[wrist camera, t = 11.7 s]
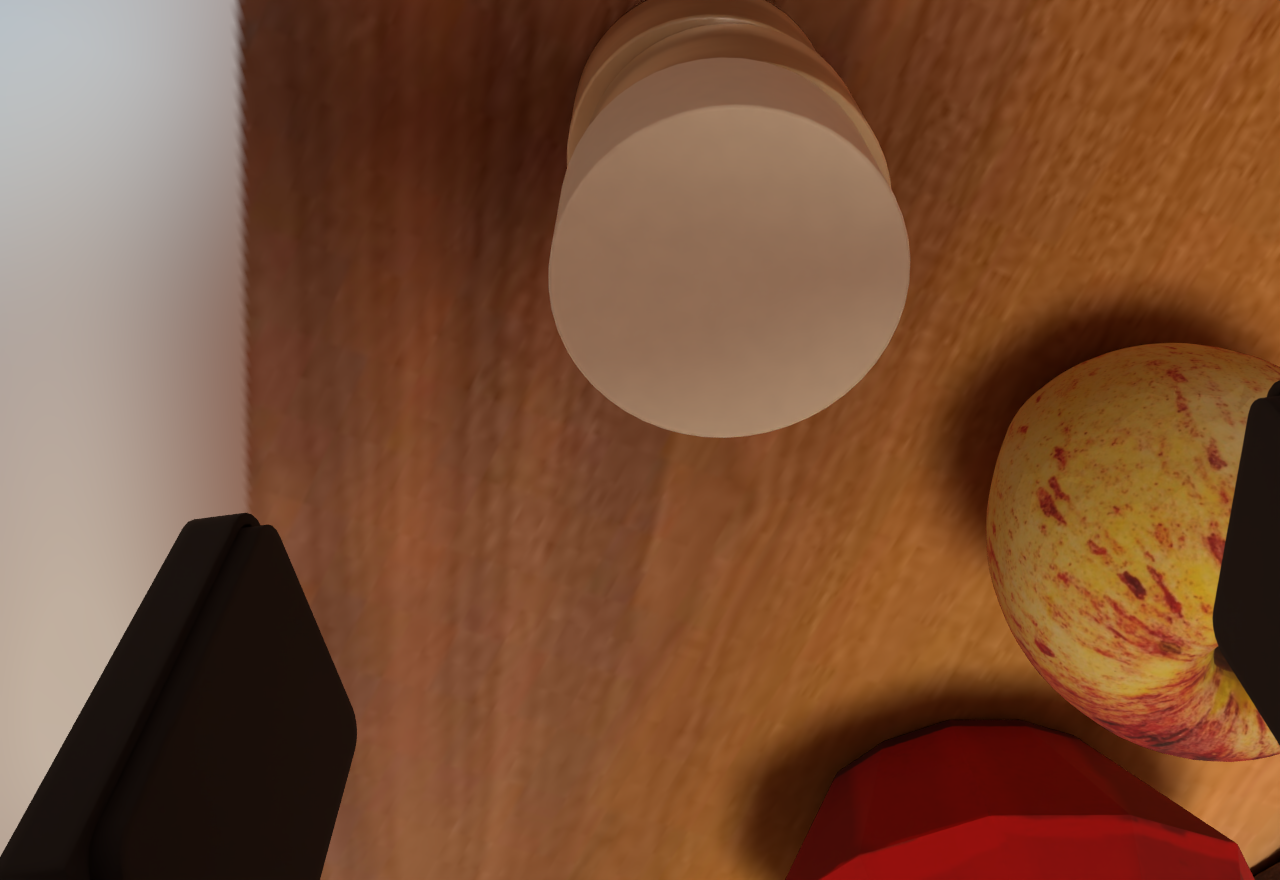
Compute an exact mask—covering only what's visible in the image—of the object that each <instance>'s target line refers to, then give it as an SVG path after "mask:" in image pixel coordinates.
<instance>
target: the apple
mask: <svg viewBox="0 0 1280 880" xmlns="http://www.w3.org/2000/svg"><path fill="white" fill-rule="evenodd" d="M1279 380H1280V367H1278V366H1276V365H1274V364H1271V363H1269V362H1267V361H1265V360H1262V359H1260V358H1257V357H1254V356H1250V355H1247V354H1243V353H1240V352H1236V351H1232V350H1228V349H1224V348H1218V347H1212V346H1205V345H1197V344H1189V343H1157V344H1147V345H1140V346H1134V347H1128V348H1124V349H1120V350H1116V351H1112V352H1109V353H1106V354H1103V355H1101V356H1098V357H1095V358H1092V359H1090V360H1087V361H1085V362H1082V363H1080V364H1078V365H1076V366H1074V367H1072V368H1070V369H1068V370H1067V371H1065V372H1063V373H1061V374H1060V375H1058V376H1057V377H1055V378H1054V379H1053V380H1051V381H1050V382H1049V383H1047V384H1046V385H1045V386H1043V387H1042V388H1041V389H1040V390H1038V391H1037V392H1036V393H1035V394H1033V395H1032V396H1031V397H1030V398H1029V399H1028V400H1027V401H1026V402H1025V403H1024V404H1023V405H1022V407H1021V408H1020V409H1019V410H1018V412H1017V413H1016V415H1015V417H1014V418H1013V420H1012V422H1011V424H1010V426H1009V428H1008V430H1007V433H1006V436H1005V438H1004V441H1003V443H1002V446H1001V449H1000V452H999V456H998V459H997V462H996V466H995V470H994V474H993V478H992V483H991V488H990V493H989V499H988V506H987V517H986V539H987V555H988V563H989V570H990V574H991V578H992V582H993V586H994V589H995V592H996V595H997V598H998V601H999V603H1000V606H1001V609H1002V611H1003V614H1004V616H1005V618H1006V621H1007V623H1008V625H1009V627H1010V629H1011V632H1012V633H1013V635H1014V637H1015V639H1016V641H1017V642H1018V644H1019V646H1020V647H1021V649H1022V650H1023V652H1024V653H1025V655H1026V656H1027V658H1028V659H1029V661H1030V662H1031V663H1032V665H1033V666H1034V667H1035V669H1036V670H1037V671H1038V672H1039V673H1040V675H1041V676H1042V677H1043V678H1044V679H1045V680H1046V681H1047V682H1048V683H1049V684H1050V685H1051V686H1052V688H1053V689H1055V690H1056V691H1057V692H1058V693H1059V694H1060V695H1061V696H1062V697H1063V698H1064V699H1066V700H1067V701H1068V702H1069V703H1070V704H1072V705H1073V706H1074V707H1075V708H1077V709H1078V710H1079V711H1080V712H1082V713H1083V714H1085V715H1086V716H1088V717H1089V718H1090V719H1092V720H1093V721H1095V722H1096V723H1098V724H1099V725H1101V726H1102V727H1104V728H1105V729H1107V730H1108V731H1110V732H1112V733H1114V734H1115V735H1117V736H1119V737H1121V738H1123V739H1126V740H1128V741H1130V742H1133V743H1135V744H1137V745H1139V746H1142V747H1145V748H1148V749H1151V750H1154V751H1158V752H1161V753H1164V754H1169V755H1173V756H1178V757H1183V758H1188V759H1192V760H1204V761H1224V762H1234V761H1246V760H1254V759H1260V758H1266V757H1270V756H1273V755H1277V754H1280V745H1279V744H1278V742H1277V740H1276V739H1275V737H1274V736H1273V734H1272V732H1271V731H1270V729H1269V728H1268V726H1267V724H1266V723H1265V721H1264V720H1263V718H1262V717H1261V715H1260V713H1259V712H1258V710H1257V709H1256V707H1255V705H1254V704H1253V702H1252V701H1251V699H1250V697H1249V696H1248V694H1247V693H1246V691H1245V689H1244V688H1243V686H1242V685H1241V683H1240V681H1239V680H1238V678H1237V677H1236V675H1235V673H1234V672H1233V670H1232V669H1231V667H1230V666H1229V664H1228V662H1227V661H1226V659H1225V658H1224V656H1223V654H1222V653H1221V651H1220V649H1219V647H1218V644H1217V641H1216V638H1215V634H1214V630H1213V620H1212V617H1213V608H1214V603H1215V597H1216V591H1217V586H1218V580H1219V575H1220V569H1221V563H1222V558H1223V552H1224V547H1225V541H1226V535H1227V530H1228V524H1229V519H1230V513H1231V508H1232V502H1233V496H1234V491H1235V485H1236V480H1237V474H1238V468H1239V463H1240V457H1241V452H1242V446H1243V441H1244V435H1245V429H1246V424H1247V418H1248V413H1249V410H1250V407H1251V405H1252V403H1253V402H1254V401H1255V400H1257V399H1259V398H1265V397H1267V394H1268V391H1269V389H1270V388H1271V387H1272V385H1273V384H1274V383H1275V382H1277V381H1279Z"/></svg>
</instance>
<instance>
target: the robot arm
mask: <svg viewBox="0 0 1280 880" xmlns="http://www.w3.org/2000/svg"><path fill="white" fill-rule="evenodd" d="M1212 620H1213V630H1214V634H1215V638H1216V641H1217V644H1218V647H1219V649H1220V651H1221V653H1222V654H1223V656H1224V658H1225V659H1226V661H1227V662H1228V664H1229V666H1230V667H1231V669H1232V670H1233V672H1234V673H1235V675H1236V677H1237V678H1238V680H1239V681H1240V683H1241V685H1242V686H1243V688H1244V689H1245V691H1246V693H1247V694H1248V696H1249V697H1250V699H1251V701H1252V702H1253V704H1254V705H1255V707H1256V709H1257V710H1258V712H1259V713H1260V715H1261V717H1262V718H1263V720H1264V721H1265V723H1266V724H1267V726H1268V728H1269V729H1270V731H1271V732H1272V734H1273V736H1274V737H1275V739H1276V740H1277V742H1278V744H1279V745H1280V380H1279V381H1277V382H1275V383H1274V384H1273V385H1272V387H1271V388H1270V389H1269V391H1268V394H1267V397H1265V398H1259V399H1257V400H1255V401H1254V402H1253V403H1252V405H1251V407H1250V410H1249V413H1248V418H1247V424H1246V429H1245V435H1244V441H1243V446H1242V452H1241V457H1240V463H1239V468H1238V474H1237V480H1236V485H1235V491H1234V496H1233V502H1232V508H1231V513H1230V519H1229V524H1228V530H1227V535H1226V541H1225V547H1224V552H1223V558H1222V563H1221V569H1220V575H1219V580H1218V586H1217V591H1216V597H1215V603H1214V608H1213V617H1212ZM356 739H357V726H356V719H355V714H354V711H353V708H352V706H351V703H350V701H349V698H348V696H347V694H346V691H345V689H344V687H343V684H342V682H341V680H340V677H339V675H338V673H337V670H336V668H335V665H334V663H333V661H332V658H331V656H330V654H329V651H328V649H327V647H326V644H325V642H324V639H323V637H322V635H321V632H320V630H319V628H318V625H317V623H316V621H315V618H314V616H313V613H312V611H311V609H310V606H309V604H308V602H307V599H306V597H305V595H304V592H303V590H302V588H301V585H300V583H299V580H298V578H297V576H296V573H295V571H294V569H293V566H292V564H291V562H290V559H289V557H288V554H287V552H286V550H285V547H284V545H283V543H282V540H281V538H280V536H279V534H278V532H277V530H276V529H275V528H274V527H273V526H271V525H260V524H259V522H258V520H257V519H256V518H255V517H254V516H253V515H252V514H248V513H241V514H233V515H225V516H217V517H210V518H202V519H194V520H192V521H189V522H188V523H187V524H186V525H185V526H184V527H183V529H182V531H181V532H180V534H179V536H178V538H177V540H176V541H175V543H174V545H173V547H172V549H171V550H170V552H169V554H168V556H167V558H166V559H165V561H164V563H163V565H162V567H161V569H160V570H159V572H158V574H157V576H156V578H155V579H154V581H153V583H152V585H151V586H150V588H149V590H148V592H147V594H146V595H145V597H144V599H143V601H142V603H141V604H140V606H139V608H138V610H137V612H136V614H135V615H134V617H133V619H132V621H131V622H130V624H129V626H128V628H127V630H126V631H125V633H124V635H123V637H122V639H121V640H120V642H119V644H118V646H117V648H116V649H115V651H114V653H113V655H112V657H111V658H110V660H109V662H108V664H107V666H106V667H105V669H104V671H103V673H102V675H101V677H100V678H99V680H98V682H97V684H96V686H95V687H94V689H93V691H92V693H91V695H90V696H89V698H88V700H87V702H86V704H85V705H84V707H83V709H82V711H81V713H80V714H79V716H78V718H77V720H76V722H75V723H74V725H73V727H72V729H71V731H70V732H69V734H68V736H67V738H66V740H65V741H64V743H63V745H62V747H61V749H60V750H59V752H58V754H57V756H56V758H55V759H54V761H53V763H52V765H51V767H50V768H49V770H48V772H47V774H46V776H45V777H44V779H43V781H42V783H41V785H40V786H39V788H38V790H37V792H36V794H35V795H34V797H33V799H32V801H31V803H30V804H29V806H28V808H27V810H26V812H25V814H24V815H23V817H22V819H21V821H20V823H19V824H18V826H17V828H16V830H15V832H14V833H13V835H12V837H11V839H10V841H9V842H8V844H7V846H6V848H5V850H4V851H3V853H2V855H1V857H0V880H320V877H321V873H322V870H323V866H324V862H325V859H326V855H327V851H328V847H329V844H330V840H331V836H332V833H333V829H334V825H335V821H336V818H337V814H338V810H339V807H340V803H341V799H342V796H343V792H344V788H345V784H346V781H347V777H348V773H349V770H350V766H351V762H352V758H353V755H354V751H355V746H356Z"/></svg>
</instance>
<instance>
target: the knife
mask: <svg viewBox="0 0 1280 880" xmlns="http://www.w3.org/2000/svg"><path fill="white" fill-rule="evenodd" d="M1254 879H1255V880H1280V862H1278V863H1277V864H1275V865H1273V866H1271V867H1270V868H1268V869H1266V870H1264V871H1262V872H1261V873H1259V874H1257V875H1256V876H1255V877H1254Z"/></svg>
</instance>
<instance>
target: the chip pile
mask: <svg viewBox="0 0 1280 880" xmlns="http://www.w3.org/2000/svg"><path fill="white" fill-rule="evenodd" d="M721 57H723V58H744V59H750V60H755V61H761V62H766V63H769V64H772V65H775V66H778V67H781V68H784V69H787V70H789V71H791V72H793V73H795V74H797V75H799V76H801V77H803V78H805V79H807V80H809V81H810V82H812V83H813V84H814V85H816V86H817V87H819V88H820V89H822V90H823V91H825V92H826V93H827V94H828V95H829V96H830V97H831V98H832V99H833V100H834V101H835V102H837V103H838V104H839V105H840V106H841V108H842V109H843V110H844V111H845V112H846V114H847V115H848V116H849V117H850V119H851V120H852V121H853V122H854V124H855V126H856V127H857V129H858V131H859V132H860V134H861V136H862V137H863V139H864V141H865V143H866V145H867V146H868V148H869V150H870V152H871V154H872V156H873V157H874V159H875V161H876V163H877V165H878V166H879V168H880V170H881V172H882V174H883V176H884V177H885V179H886V181H887V183H888V185H889V186H890V188H891V179H890V175H889V171H888V167H887V163H886V159H885V157H884V154H883V152H882V149H881V147H880V144H879V142H878V140H877V138H876V136H875V135H874V133H873V131H872V130H871V128H870V126H869V124H868V123H867V121H866V119H865V118H864V116H863V114H862V112H861V111H860V109H859V107H858V106H857V104H856V102H855V100H854V99H853V97H852V95H851V94H850V92H849V90H848V88H847V87H846V85H845V83H844V82H843V80H842V79H841V78H840V77H839V75H838V74H837V73H836V72H835V70H834V69H833V68H832V67H831V66H830V65H829V64H828V63H827V62H826V61H825V60H824V59H823V58H822V57H821V56H820V55H819V54H818V53H817V52H816V50H815V49H814V47H813V45H812V44H811V42H810V40H809V39H808V38H807V36H806V35H805V34H804V33H803V31H802V30H801V29H800V28H799V26H798V25H797V24H796V23H795V22H794V21H792V20H791V19H790V18H789V17H788V16H787V15H786V14H785V13H783V12H782V11H781V10H779V9H778V8H776V7H775V6H774V5H772V4H771V3H769V2H767V1H765V0H647V1H645V2H643V3H641V4H640V5H638V6H636V7H634V8H633V9H632V10H630V11H629V12H628V13H626V14H625V15H624V16H622V17H621V18H620V19H619V20H618V21H617V22H616V23H615V24H614V25H613V26H612V27H611V28H609V29H608V31H607V32H606V33H605V34H604V36H603V37H602V38H601V39H600V41H599V42H598V43H597V45H596V46H595V48H594V50H593V51H592V53H591V55H590V57H589V58H588V60H587V63H586V65H585V67H584V70H583V72H582V74H581V77H580V81H579V85H578V88H577V92H576V97H575V102H574V108H573V113H572V119H571V124H570V129H569V136H568V143H567V167H568V164H569V162H570V159H571V157H572V155H573V153H574V150H575V148H576V146H577V144H578V143H579V141H580V139H581V138H582V136H583V134H584V133H585V131H586V130H587V128H588V127H589V125H590V124H591V123H592V122H593V121H594V119H595V118H596V117H597V116H598V114H599V113H600V112H601V111H602V110H603V109H604V108H605V107H606V106H607V105H608V104H609V103H610V102H611V101H612V100H614V99H615V98H616V97H617V96H618V95H619V94H621V93H622V92H623V91H625V90H626V89H628V88H629V87H631V86H632V85H633V84H635V83H636V82H638V81H640V80H642V79H644V78H646V77H648V76H650V75H651V74H653V73H655V72H658V71H660V70H663V69H666V68H668V67H671V66H674V65H677V64H681V63H685V62H690V61H694V60H699V59H709V58H721ZM891 190H892V189H891Z"/></svg>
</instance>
